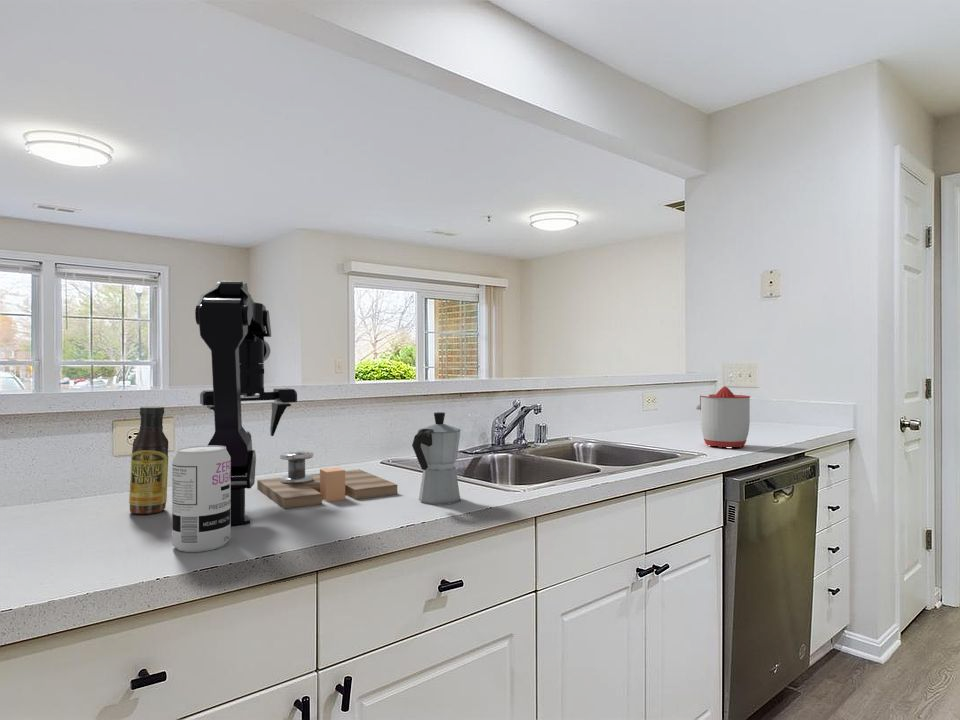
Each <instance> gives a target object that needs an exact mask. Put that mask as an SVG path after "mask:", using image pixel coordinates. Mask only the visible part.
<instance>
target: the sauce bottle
mask: <svg viewBox="0 0 960 720" xmlns="http://www.w3.org/2000/svg"><path fill="white" fill-rule="evenodd" d="M164 414H165V407H164V406H160V405H159V406H157V405H156V406H155V405H153V406H152V405H149V406H148V405H147V406H145V405H144V406H140V408H139V415H140V424H139V425H140V426H139V431H138V433H137V434H136V437H135V438H134V439H133V442H132V449H131V457H130V477H129V480H130V481H129V500H128V503H129V513H131V514H135V515H148V514H149V515H151V514H153V515H154V514H158V513H160V512H163V511H164V510H165V509H166V507H167V505H166V504H167V501H168V499H167V498H168V497H167V496H168V475H169V474H168V472H169V439H168V438H167V436H166V435H165V433H164V431H163V429H164V426H163V419H164Z"/></svg>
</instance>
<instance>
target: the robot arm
mask: <svg viewBox="0 0 960 720" xmlns="http://www.w3.org/2000/svg"><path fill="white" fill-rule="evenodd" d="M249 292H250V291H249V288H248V283H247V282H244V281H243V280H221V281H217V282H216V284H215V286H214V287H213V288H211V289H209V290H207V291H206V292H204V293H202V294H201V295H200V297H199V299H198V302H197V303H196V305H195V310H194V311H195V313H194V315H195V316H194V317H195V323H196V325H197V326H198V327H199V336H200V338H201V339H202V341H203V342H204V343H205V344H206V345H207V348H208V349H209V350H210V353H211V369H212V371H211V372H212V373H211V374H212V375H211V376H212V389H211V390H208V389H207V390H206V389H205V390H202V391H201V392H200V393H199V404H200V405H202V406H206V408H207V409H209V410H213V414H214V434H213V435H212V437H211V439H210V440H209V443H208V444H207V445H217V446H225V447H226V450H227V452H228V453H229V455H230V457H231V526H236V525H237V526H238V525H244V524H249V523H251V519H250V518H249V517H248V516H247V514H246V489H249V490H250V489H251V488H252V487H253V486H254V485H255V483H256V481H255V480H256V467H257V466H256V464H257V463H256V461H257V459H256V458H257V456H256V454H257V453H256V450H255V449H253V442H252V441H253V440H252V435H251V432H250V431H246V429H244V427H243V424H242V423H243V421H242V402H249V401H250V402H251V401H252V402H253V401H255V402H257V401H273V402H271V417H270V418H271V419H270V431H269V432H270V437H274V436H275V433H276V430H277V428H278V426H279V422H280V420H281V418H282V416H283V414H284V413H285V411H286V409H287V408H288V407H292V404H291V403H298V393H297V391H296V390H295V389H294V388H289V387H288V388H273V390H272V391H265V361H267V360H268V358H269V357H270V356H271V347H270V344H269V343H268V341H266V340H265V338H268V337H269V338H271V337H272V329H271V327H272V326H271V319H270V312H269V310H268V309H267V308H266V306H265V305H264V304H263V303H262V302H261V303H260V302H255V301H254V299H253V298H252V295H251V294H250V293H249Z"/></svg>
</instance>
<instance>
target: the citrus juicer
mask: <svg viewBox="0 0 960 720" xmlns="http://www.w3.org/2000/svg"><path fill="white" fill-rule="evenodd" d="M750 398H751V395H745V394H744V395H742V394H734V393H733V392H732V391H731V389H729V388H728V387H727V386H723V387H722V388H720V389H719V390H718V391H717V393H715V394H713V393H712V394H708V395H702V394H700V395H699V404H698V405H697V406H696V410H697V411H700V426H701V433H702V436H703V441H704V443H705V445H706V444H707V445H706V446H708V445H710V446H718V447H717V448H722V447H740V448H743V447H742V446H744V447H745V445H746V443H747V439H748V436H749V431H750V418H751V415H750V414H751V412H750V410H751V409H750V406H751V404H750V402H751V401H750V400H751V399H750Z"/></svg>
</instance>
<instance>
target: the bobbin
mask: <svg viewBox="0 0 960 720" xmlns="http://www.w3.org/2000/svg"><path fill="white" fill-rule="evenodd" d="M279 458H280V460H285V461H287V469H288V470H287V475H283V476H281V478H280V477H279V478H280V483H283V484H303V483H309V482H312V481H313V476H312V475H309V474H306V460H308V459H312V458H314V452H312V451H303V450H302V451H301V450H300V451H288V452H287V451H286V452H281V453H280V454H279Z"/></svg>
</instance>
